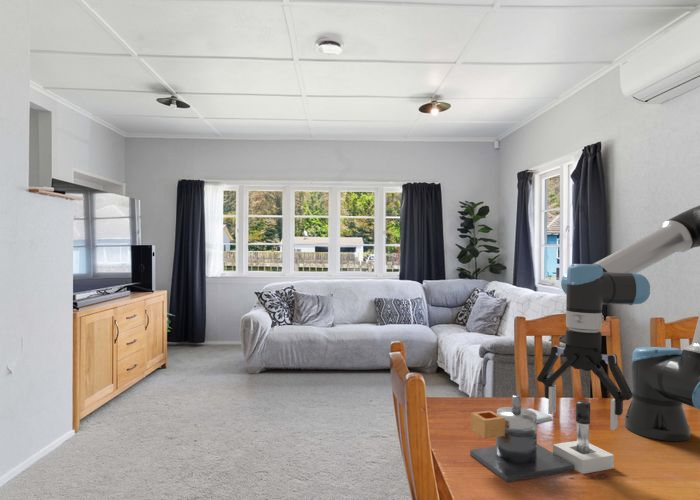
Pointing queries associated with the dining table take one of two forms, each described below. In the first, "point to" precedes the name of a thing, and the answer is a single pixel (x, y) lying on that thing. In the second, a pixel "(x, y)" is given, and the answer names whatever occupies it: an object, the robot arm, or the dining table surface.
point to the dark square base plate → (520, 458)
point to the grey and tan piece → (505, 421)
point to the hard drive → (541, 416)
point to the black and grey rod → (583, 426)
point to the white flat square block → (584, 457)
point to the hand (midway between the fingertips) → (581, 420)
